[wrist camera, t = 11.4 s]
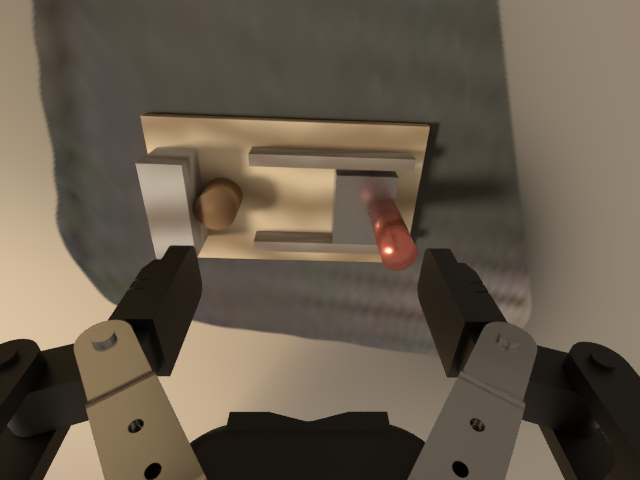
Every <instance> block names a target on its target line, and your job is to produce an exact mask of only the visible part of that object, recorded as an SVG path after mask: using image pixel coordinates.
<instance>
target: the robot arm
mask: <svg viewBox="0 0 640 480" xmlns="http://www.w3.org/2000/svg"><path fill="white" fill-rule="evenodd" d="M201 293H202V280H201V275H200V270H199V265H198V259H197V254H196V250H195V247H194V246H190V245H171V246H169V247H168V249H167V251H166V252H165V254H164V256H163V257H162V259H161V260H153V261H152V262H150V263H149V264H148V265H146V266H145V267H144V268H142V269H141V271H140V272H139V274H138V275H137V277H136V278H135V281H133V283H132V284H131V286H130V288H129V290H128V291H127V292H126V294H125V295H124V297H123V298H122V300H121V301H120V303H119V304H118V306H117V307H116V309H115V310H114V312H113V314H112V315H111V316H110V318H109V319H108V321H104V322H101V323H98V324H96V325H93V326H91V327H90V328H88V329H87V330H85V331H84V332H83V333H82V334H81V335H80V336H79V337H78V338H77V340H76V341H75V343H74V344H70V345H66V346H61V347H57V348H53V349H48V350H45V351H41V350H40V348H39V347H38V345H37V343H36V342H34V341H32V340H29V339H17V340H12V341H8V342H5V343H2V344H0V480H43V479H44V477H45V475H46V473H47V471H48V469H49V467H50V465H51V463H52V461H53V459H54V457H55V455H56V454H57V451H58V450H59V447H60V446H61V444H62V442H63V440H64V438H65V436H66V434H67V432H68V430H69V428H70V426H71V425H74V424H77V423H81V422H84V421H88V420H89V422H90V426H91V430H92V433H93V437H94V440H95V445H96V448H97V452H98V456H99V460H100V463H101V467H102V471H103V474H104V478H105V480H505V478H506V474H507V470H508V467H509V463H510V460H511V456H512V453H513V449H514V445H515V442H516V438H517V435H518V431H519V427H520V424H521V420H525V421H528V422H532V423H535V424H538V425H539V427H540V429H541V431H542V433H543V435H544V437H545V439H546V441H547V444H548V445H549V448H550V450H551V452H552V454H553V456H554V458H555V460H556V462H557V464H558V466H559V468H560V470H561V473H562V475H563V477H564V479H565V480H640V377H639V375H638V374H637V373H636V372H635V371H634V369H633V368H632V367H631V366H630V364H629V363H628V362H627V361H626V360H625V359H624V358H623V357H622V356H620V355H619V354H617V353H616V352H614V351H613V350H611V349H609V348H607V347H605V346H602V345H599V344H596V343H592V342H579V343H576V344H574V345H573V346H572V348H571V350H570V352H569V353H566V352H562V351H558V350H553V349H550V348H545V347H542V346H538V345H536V342H535V341H534V339H533V338H532V337H531V335H529V334H528V333H527V332H526V331H525V330H523V329H521V328H520V327H518V326H516V325H513V324H510V323H508V322H507V321H506V319H505V318H504V316H503V314H502V313H501V311H500V310H499V308H498V306H497V305H496V303H495V302H494V300H493V298H492V297H491V295H490V294H489V293H488V290H487V289H486V287H485V285H483V282H482V281H481V279H480V277H479V276H478V274H477V273H476V272H475V271H474V270H473V269H472V268H470V267H469V266H468V265H466V264H465V263H458V262H457V260H456V258H455V257H454V255H453V253H452V252H451V250H450V249H429V248H428V249H426V251H425V254H424V258H423V263H422V268H421V272H420V277H419V282H418V298H419V302H420V304H421V307H422V310H423V313H424V315H425V318H426V321H427V324H428V326H429V329H430V332H431V335H432V337H433V340H434V343H435V345H436V348H437V351H438V354H439V356H440V359H441V362H442V365H443V367H444V370H445V373H446V376H447V377H457V379H456V381H455V383H454V385H453V388H452V390H451V392H450V394H449V396H448V398H447V400H446V402H445V404H444V406H443V408H442V410H441V412H440V414H439V416H438V418H437V420H436V422H435V424H434V427H433V428H432V431H431V432H430V434H429V437H428V439H427V441H426V443H425V442H424V441H423V440H421V439H420V438H418V437H417V436H415V435H414V434H411V433H410V432H408V431H406V430H404V429H402V428H399V427H396V426H392V425H389V420H388V414H387V412H346V413H342V414H338V415H334V416H330V417H327V418H323V419H319V420H315V421H309V422H308V421H302V420H298V419H295V418H290V417H286V416H282V415H278V414H275V413H271V412H230V413H229V418H228V423H227V425H225V426H222V427H219V428H216V429H214V430H211V431H209V432H207V433H205V434H203V435H201V436H200V437H198V438H197V439H195V440H194V441H192V442H191V443H189V441H188V439H187V437H186V435H185V433H184V431H183V429H182V427H181V425H180V423H179V421H178V418H177V416H176V414H175V412H174V410H173V408H172V406H171V404H170V402H169V400H168V398H167V396H166V394H165V392H164V389H163V387H162V385H161V383H160V382H159V379H158V377H157V376H170V375H171V373H172V370H173V368H174V365H175V362H176V360H177V357H178V355H179V352H180V349H181V347H182V344H183V342H184V339H185V337H186V334H187V331H188V329H189V326H190V324H191V321H192V319H193V316H194V314H195V311H196V308H197V306H198V303H199V301H200V298H201ZM600 428H601V429H600ZM605 436H606V437H605ZM610 444H611V445H610Z"/></svg>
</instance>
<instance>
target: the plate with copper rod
mask: <svg viewBox="0 0 640 480" xmlns="http://www.w3.org/2000/svg"><path fill="white" fill-rule="evenodd" d="M398 180H399V177H398V175H397V174H396V172H395V171H376V170H347V169H335V175H334V191H333V207H332V223H331V236H332V244H358V245H377V246H378V250H379V253H380V257H381V260H382V263H383V264H384V265H385V266H386V267H387V268H389V269H391V270H404V269H406V268H408V267H410V266H411V265H412V264H413V263H414V262H415V261H416V259H417V255H418V252H417V248H416V246H415V244H414V242H413V240H412V237H411V235H410V233H409V231H408V229H407V227H406V224H405V222H404V220H403V218H402V216H401V214H400V211H399V209H398V207H397V205H396V204H395V199H396V193H397V186H398Z"/></svg>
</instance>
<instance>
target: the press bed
mask: <svg viewBox="0 0 640 480" xmlns="http://www.w3.org/2000/svg"><path fill="white" fill-rule="evenodd" d="M141 121H142V126H143V131H144V136H145V141H146V146H147V151H148V154H147V155H146V156H145V157H143V158H142V159H141V160H139V161H138V162H137V163H136V168H137V172H138V177H139V181H140V186H141V190H142V195H143V199H144V204H145V208H146V213H147V218H148V222H149V227H150V231H151V236H152V240H153V245H154V249H155V254H156V258H157V259H162V257H163V256H164V254H165V252H166V251H167V249H168V247H169V246H171V245H190V246H194V247H195V250H196V254H197V257H204V258H242V259H281V260H319V261H358V262H382V260H381V257H380V253H379V250H378V246H377V245H358V244H332V236H331V223H332V207H333V191H334V175H335V169H347V170H376V171H395V172H396V174H397V175H398V177H399V180H398V186H397V193H396V199H395V204H396V205H397V207H398V209H399V211H400V214H401V216H402V218H403V220H404V222H405V224H406V227H407V229H408V231H409V233H410V231H411V226H412V220H413V215H414V210H415V204H416V199H417V194H418V188H419V183H420V178H421V172H422V167H423V161H424V156H425V151H426V145H427V140H428V135H429V129H430V126H428V125H427V124H413V123H386V122H360V121H333V120H307V119H280V118H254V117H227V116H201V115H175V114H148V113H145V114H143V115H141ZM217 178H226V179H229V180H232V181H233V182H235V183H236V184H237V185H238V186H239V188H240V189H241V192H242V196H243V199H242V203H241V205H240V208H239V210H238V212H237V215H236V217H235V220H234V222H233V223H232V224H231V225H230V226H229V227H227V228H225V229H221V230H214V229H210V228H207V227H206V226H204V225H203V224H201V223H200V222H199V221H198V219H197V217H196V215H195V212H194V206H195V203H196V201H197V199H198V198H199V196H200V195H201V193H202V192H203V190H204V189H205V187H206V186H207V185H208V183H209V182H210V181H212V180H214V179H217Z"/></svg>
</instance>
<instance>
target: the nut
mask: <svg viewBox="0 0 640 480" xmlns="http://www.w3.org/2000/svg"><path fill="white" fill-rule="evenodd" d="M242 199H243V196H242V192H241V189H240V188H239V186H238V185H237V184H236V183H235V182H233V181H232V180H229V179H226V178H217V179H214V180H212V181H210V182H209V183H208V185H207V186H206V187H205V189H204V190H203V192H202V193H201V195H200V196H199V198H198V199H197V201H196V203H195V206H194V212H195V215H196V217H197V219H198V221H199V222H200V223H201V224H203V225H204V226H206V227H207V228H210V229H214V230H221V229H225V228H227V227H229V226H230V225H231V224H232V223H233V222H234V220H235V217H236V215H237V212H238V210H239V208H240V205H241V203H242Z"/></svg>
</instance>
